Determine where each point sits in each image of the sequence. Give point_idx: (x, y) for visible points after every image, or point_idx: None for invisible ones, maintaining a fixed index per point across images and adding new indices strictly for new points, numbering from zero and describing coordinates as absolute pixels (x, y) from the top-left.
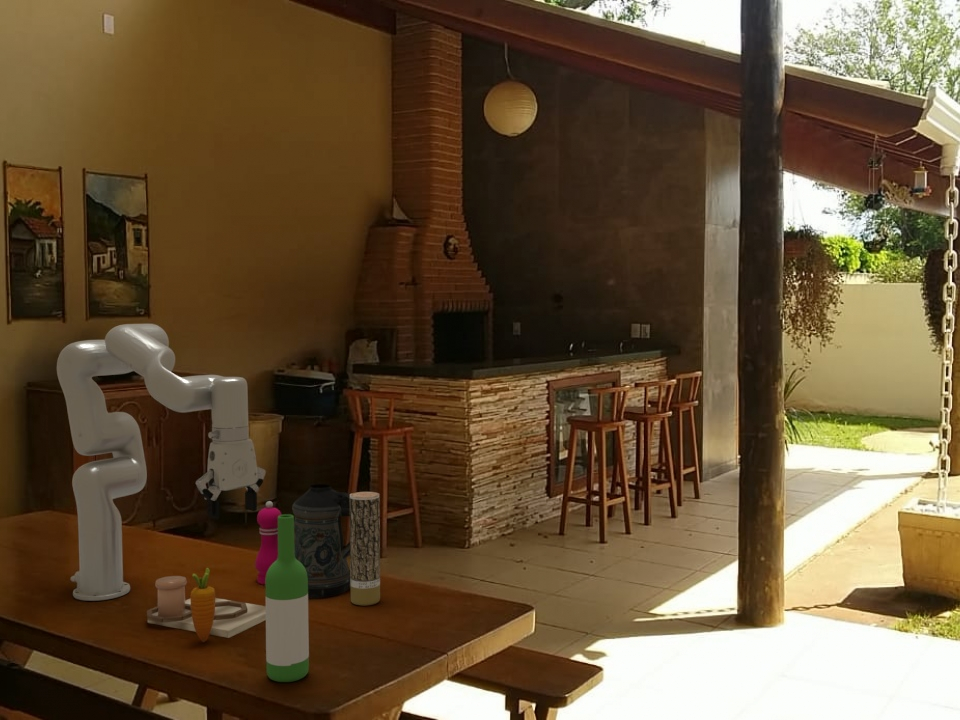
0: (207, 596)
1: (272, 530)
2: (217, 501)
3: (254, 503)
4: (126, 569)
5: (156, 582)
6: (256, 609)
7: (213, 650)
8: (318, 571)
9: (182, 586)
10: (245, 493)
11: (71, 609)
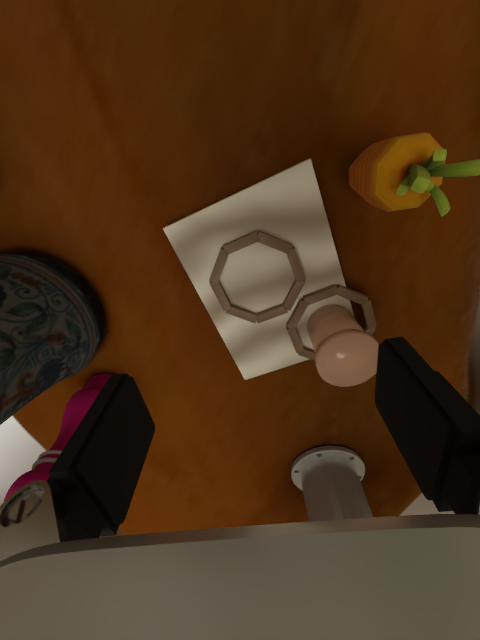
0: (417, 133)
1: (54, 458)
2: (470, 422)
3: (107, 405)
4: (255, 516)
5: None
6: (199, 249)
7: (373, 103)
8: (19, 283)
9: (338, 331)
10: (123, 515)
11: (390, 441)
